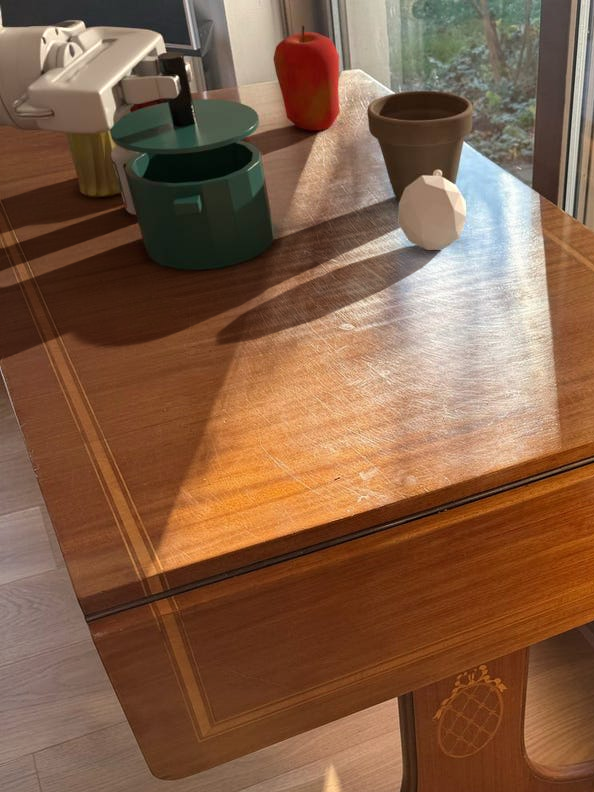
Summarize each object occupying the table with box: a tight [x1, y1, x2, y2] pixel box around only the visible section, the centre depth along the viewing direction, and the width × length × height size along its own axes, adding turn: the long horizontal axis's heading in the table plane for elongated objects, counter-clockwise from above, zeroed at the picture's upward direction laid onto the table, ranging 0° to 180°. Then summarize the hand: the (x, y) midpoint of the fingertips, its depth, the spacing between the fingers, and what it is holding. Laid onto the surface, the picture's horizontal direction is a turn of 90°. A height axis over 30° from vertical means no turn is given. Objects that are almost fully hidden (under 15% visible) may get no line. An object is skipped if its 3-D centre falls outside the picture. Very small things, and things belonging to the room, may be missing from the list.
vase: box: [64, 130, 121, 199], centre depth 113 cm, size 6×6×14 cm
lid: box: [110, 51, 260, 154], centre depth 96 cm, size 15×15×7 cm
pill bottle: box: [110, 129, 139, 216], centre depth 111 cm, size 5×5×9 cm
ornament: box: [398, 170, 467, 251], centre depth 102 cm, size 7×7×8 cm
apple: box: [273, 24, 341, 132], centre depth 128 cm, size 9×8×12 cm
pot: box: [124, 140, 275, 271], centre depth 104 cm, size 14×19×8 cm
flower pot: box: [366, 90, 474, 203], centre depth 110 cm, size 12×11×10 cm
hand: (184, 79), depth 95 cm, fingers closed on lid, 2 cm apart
